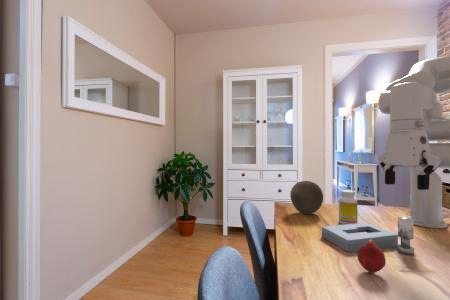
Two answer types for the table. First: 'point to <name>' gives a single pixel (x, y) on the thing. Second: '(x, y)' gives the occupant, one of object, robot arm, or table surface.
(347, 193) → the supplement bottle
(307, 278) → the table surface
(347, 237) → the keyhole plate
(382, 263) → the onion
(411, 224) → the stud
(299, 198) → the dark brown ball
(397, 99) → the robot arm
